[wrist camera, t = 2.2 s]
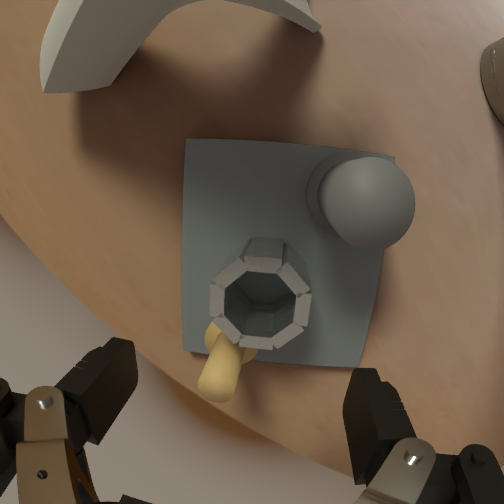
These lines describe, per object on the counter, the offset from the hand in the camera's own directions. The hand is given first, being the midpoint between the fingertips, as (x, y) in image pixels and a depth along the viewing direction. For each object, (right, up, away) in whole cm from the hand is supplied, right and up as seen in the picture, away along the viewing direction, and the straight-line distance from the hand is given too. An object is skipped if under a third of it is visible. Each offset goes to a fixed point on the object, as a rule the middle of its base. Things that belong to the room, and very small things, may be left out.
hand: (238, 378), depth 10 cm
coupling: (+1, +3, +11) cm, 11 cm away
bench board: (+3, +4, +12) cm, 13 cm away
